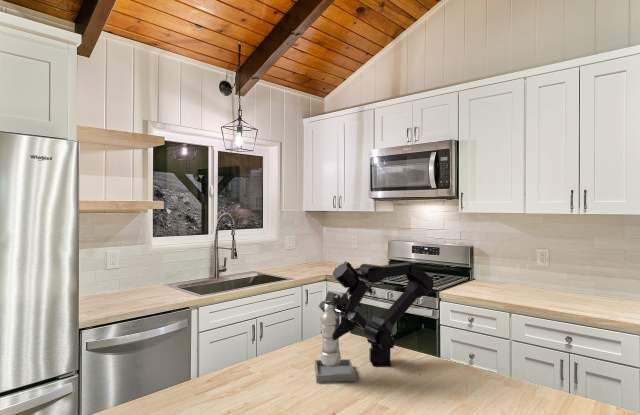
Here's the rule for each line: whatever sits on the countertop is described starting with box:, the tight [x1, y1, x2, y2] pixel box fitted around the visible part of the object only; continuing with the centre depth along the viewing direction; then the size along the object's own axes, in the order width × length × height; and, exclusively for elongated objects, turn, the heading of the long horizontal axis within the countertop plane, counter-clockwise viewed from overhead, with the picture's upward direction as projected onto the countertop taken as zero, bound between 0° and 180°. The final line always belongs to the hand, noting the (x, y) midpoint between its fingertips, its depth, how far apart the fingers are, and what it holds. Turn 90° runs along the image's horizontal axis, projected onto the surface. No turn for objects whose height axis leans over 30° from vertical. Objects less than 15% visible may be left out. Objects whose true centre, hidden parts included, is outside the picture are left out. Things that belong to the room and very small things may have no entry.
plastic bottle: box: [319, 301, 342, 367], centre depth 130 cm, size 6×7×20 cm
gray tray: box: [314, 358, 357, 384], centre depth 133 cm, size 12×12×2 cm
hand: (327, 336), depth 129 cm, fingers closed on plastic bottle, 6 cm apart
